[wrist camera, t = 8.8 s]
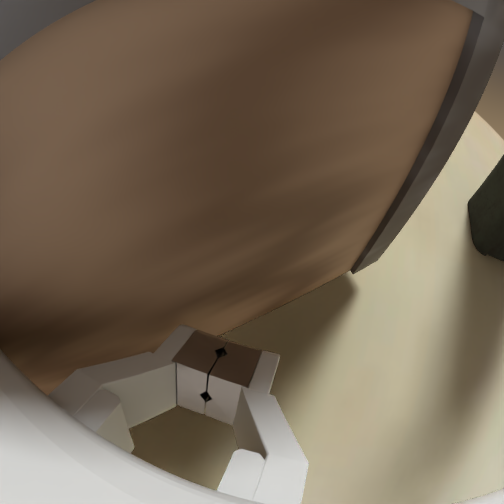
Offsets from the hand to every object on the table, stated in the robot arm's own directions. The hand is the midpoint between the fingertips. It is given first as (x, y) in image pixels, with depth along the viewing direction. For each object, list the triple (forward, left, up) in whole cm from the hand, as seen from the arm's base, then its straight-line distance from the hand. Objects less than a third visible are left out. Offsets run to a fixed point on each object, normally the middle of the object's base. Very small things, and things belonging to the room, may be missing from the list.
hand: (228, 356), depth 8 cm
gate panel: (-5, -1, -4) cm, 6 cm away
